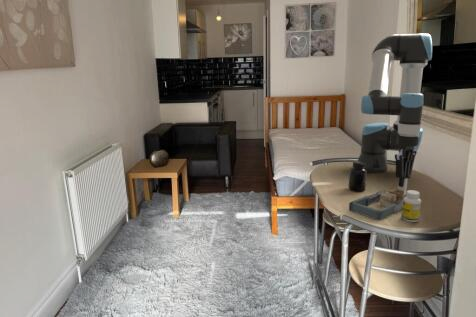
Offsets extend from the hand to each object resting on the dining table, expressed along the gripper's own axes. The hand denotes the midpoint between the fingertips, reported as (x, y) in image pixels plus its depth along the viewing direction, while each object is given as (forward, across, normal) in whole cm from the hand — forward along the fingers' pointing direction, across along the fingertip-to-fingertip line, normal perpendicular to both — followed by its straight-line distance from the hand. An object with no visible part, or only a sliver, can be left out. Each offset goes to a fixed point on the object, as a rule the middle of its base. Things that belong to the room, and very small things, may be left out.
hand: (401, 193), depth 141 cm
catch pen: (+2, +21, 0) cm, 21 cm away
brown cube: (+2, +4, 0) cm, 5 cm away
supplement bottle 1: (+2, +4, -17) cm, 18 cm away
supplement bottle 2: (+2, +17, +12) cm, 21 cm away
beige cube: (+2, +10, 0) cm, 10 cm away
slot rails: (+2, +10, 0) cm, 10 cm away
